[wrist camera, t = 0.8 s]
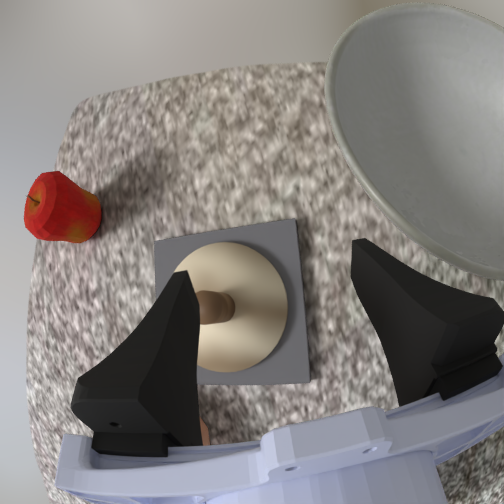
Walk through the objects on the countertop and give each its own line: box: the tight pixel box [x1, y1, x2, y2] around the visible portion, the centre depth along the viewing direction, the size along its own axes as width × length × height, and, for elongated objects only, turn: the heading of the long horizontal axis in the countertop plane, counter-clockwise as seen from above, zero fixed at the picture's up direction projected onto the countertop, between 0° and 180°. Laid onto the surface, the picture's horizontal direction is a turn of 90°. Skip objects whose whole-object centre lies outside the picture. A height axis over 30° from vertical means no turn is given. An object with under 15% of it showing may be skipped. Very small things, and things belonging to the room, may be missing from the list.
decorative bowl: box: [324, 3, 504, 281], centre depth 22 cm, size 27×27×12 cm
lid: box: [174, 242, 288, 372], centre depth 29 cm, size 13×13×5 cm
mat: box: [154, 218, 311, 385], centre depth 32 cm, size 16×16×1 cm
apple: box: [24, 171, 101, 243], centre depth 34 cm, size 9×8×12 cm
